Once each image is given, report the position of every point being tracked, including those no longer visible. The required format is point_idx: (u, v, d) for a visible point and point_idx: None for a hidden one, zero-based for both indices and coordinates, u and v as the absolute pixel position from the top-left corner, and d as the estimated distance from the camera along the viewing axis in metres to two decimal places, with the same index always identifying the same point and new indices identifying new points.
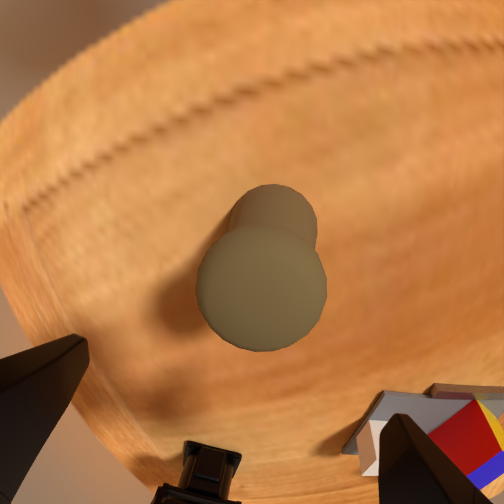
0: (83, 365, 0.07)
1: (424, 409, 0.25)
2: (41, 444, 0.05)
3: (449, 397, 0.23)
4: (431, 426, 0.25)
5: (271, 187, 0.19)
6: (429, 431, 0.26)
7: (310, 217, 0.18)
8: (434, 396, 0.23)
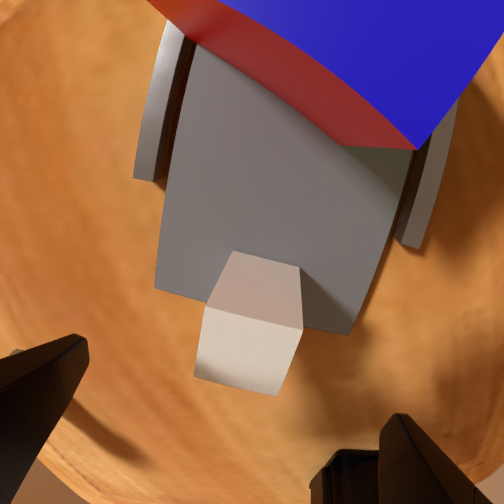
0: (83, 365, 0.07)
1: (203, 181, 0.13)
2: (41, 444, 0.05)
3: (154, 134, 0.12)
4: (279, 129, 0.12)
5: None
6: (302, 125, 0.12)
7: None
8: (148, 179, 0.13)
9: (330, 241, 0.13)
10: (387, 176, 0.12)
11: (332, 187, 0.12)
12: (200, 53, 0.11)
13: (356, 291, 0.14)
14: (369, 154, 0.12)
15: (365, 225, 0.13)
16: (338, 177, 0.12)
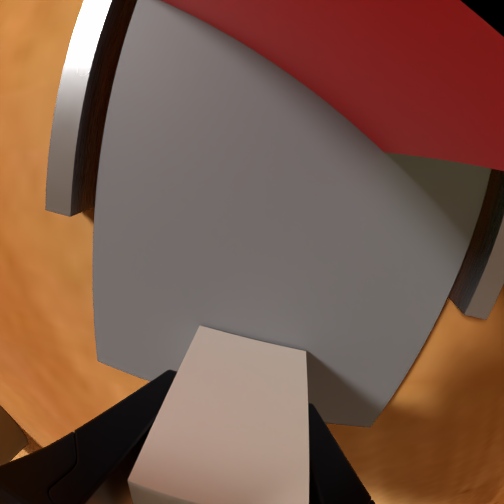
0: None
1: (146, 213, 0.08)
2: None
3: (69, 139, 0.07)
4: (275, 120, 0.06)
5: None
6: (317, 114, 0.06)
7: None
8: (65, 213, 0.07)
9: (358, 313, 0.08)
10: (454, 207, 0.07)
11: (368, 226, 0.07)
12: (144, 4, 0.06)
13: (389, 377, 0.08)
14: (430, 169, 0.06)
15: (414, 286, 0.07)
16: (378, 209, 0.07)
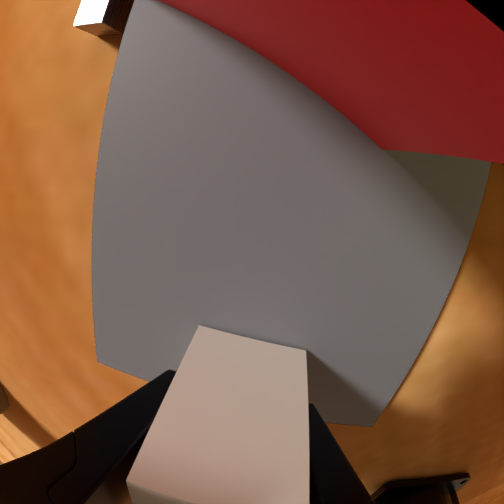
0: None
1: (144, 213, 0.07)
2: None
3: None
4: (273, 118, 0.06)
5: None
6: (315, 112, 0.06)
7: None
8: (96, 21, 0.05)
9: (358, 311, 0.08)
10: (454, 203, 0.07)
11: (367, 223, 0.07)
12: (141, 4, 0.06)
13: (390, 376, 0.08)
14: (429, 166, 0.06)
15: (415, 284, 0.07)
16: (377, 206, 0.07)
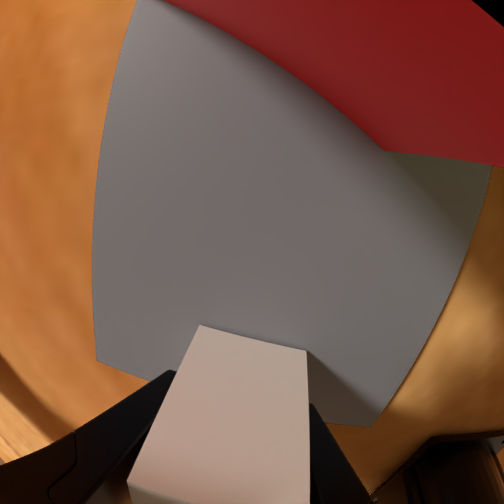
0: None
1: (146, 212, 0.07)
2: None
3: None
4: (276, 118, 0.06)
5: None
6: (318, 113, 0.06)
7: None
8: None
9: (359, 313, 0.08)
10: (455, 205, 0.07)
11: (369, 225, 0.07)
12: (144, 3, 0.06)
13: (390, 377, 0.08)
14: (431, 168, 0.06)
15: (415, 286, 0.07)
16: (379, 208, 0.07)
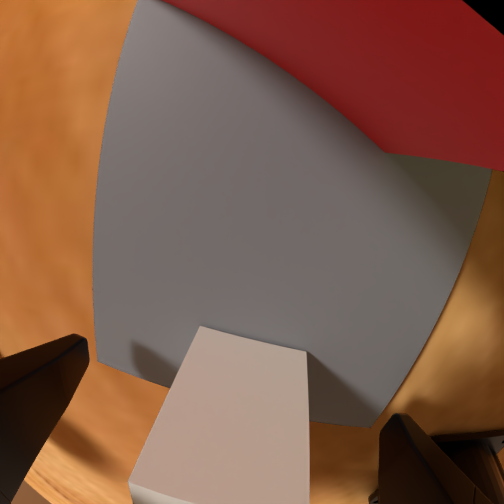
0: (83, 365, 0.07)
1: (146, 214, 0.08)
2: (41, 444, 0.05)
3: None
4: (276, 120, 0.06)
5: None
6: (318, 114, 0.06)
7: None
8: None
9: (359, 313, 0.08)
10: (455, 207, 0.07)
11: (368, 226, 0.07)
12: (144, 4, 0.06)
13: (389, 378, 0.08)
14: (431, 169, 0.06)
15: (415, 287, 0.07)
16: (379, 210, 0.07)
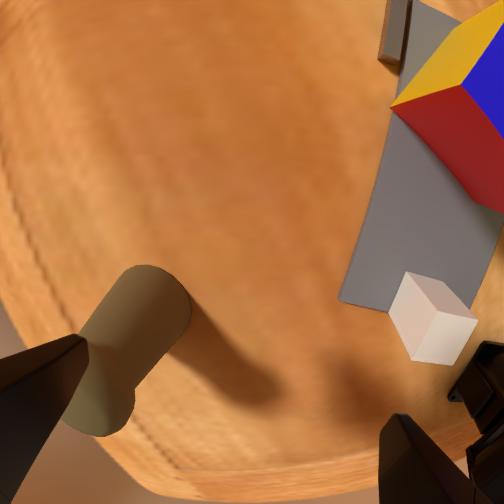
0: (83, 365, 0.07)
1: (393, 220, 0.17)
2: (41, 444, 0.05)
3: (399, 29, 0.12)
4: (444, 188, 0.16)
5: None
6: (456, 187, 0.15)
7: (112, 287, 0.18)
8: (395, 58, 0.13)
9: (461, 264, 0.17)
10: (494, 222, 0.16)
11: (467, 229, 0.16)
12: (397, 121, 0.15)
13: (469, 296, 0.17)
14: (487, 208, 0.15)
15: (480, 253, 0.16)
16: (471, 223, 0.16)
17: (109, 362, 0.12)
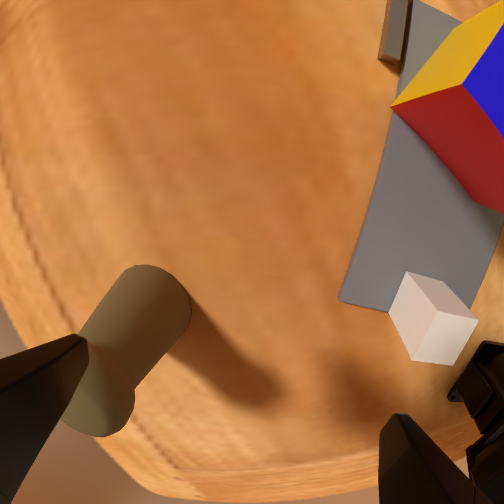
0: (83, 365, 0.07)
1: (394, 220, 0.17)
2: (41, 444, 0.05)
3: (399, 29, 0.12)
4: (444, 188, 0.16)
5: None
6: (456, 187, 0.15)
7: (112, 287, 0.18)
8: (396, 58, 0.13)
9: (461, 264, 0.17)
10: (495, 221, 0.16)
11: (467, 229, 0.16)
12: (398, 121, 0.15)
13: (469, 296, 0.17)
14: (488, 208, 0.15)
15: (480, 253, 0.16)
16: (471, 222, 0.16)
17: (109, 362, 0.12)
